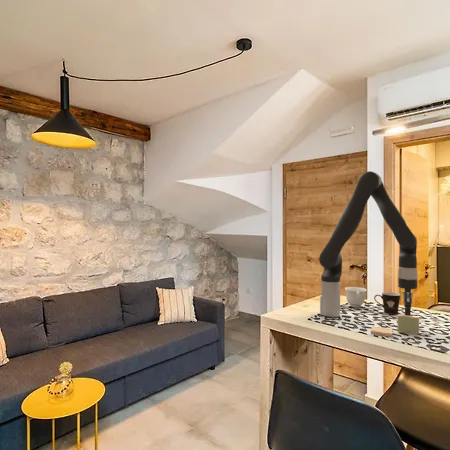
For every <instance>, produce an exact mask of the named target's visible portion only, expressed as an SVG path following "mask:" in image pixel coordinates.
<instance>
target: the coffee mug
mask: <svg viewBox="0 0 450 450" xmlns="http://www.w3.org/2000/svg"><path fill="white" fill-rule="evenodd" d="M376 297H380V298H381V299H382V303H380V302H378V301H377V299H376ZM373 299H374V302H376V303H377V304H378V305H380V306H381V307H382V308H383V312H384V314H386V315H387V314H388V315H398V314H399V308H400V302H401V301H400V300H401V294H400V293H398V292H391V291H384V292H381V295H380V294H375V295H374V296H373Z"/></svg>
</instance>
